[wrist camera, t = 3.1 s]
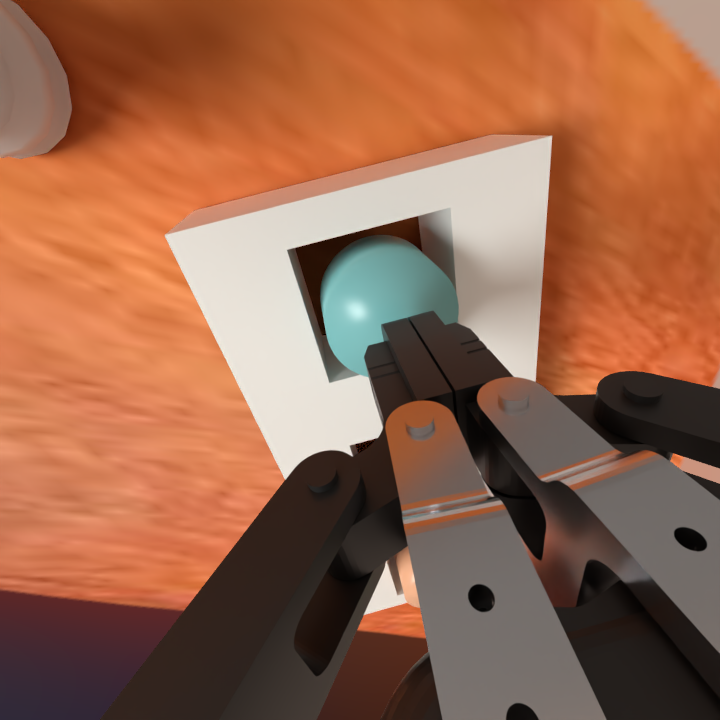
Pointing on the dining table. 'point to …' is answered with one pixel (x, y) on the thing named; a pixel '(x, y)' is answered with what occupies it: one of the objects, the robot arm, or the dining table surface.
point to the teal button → (379, 294)
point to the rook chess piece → (29, 87)
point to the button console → (348, 215)
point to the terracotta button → (407, 577)
